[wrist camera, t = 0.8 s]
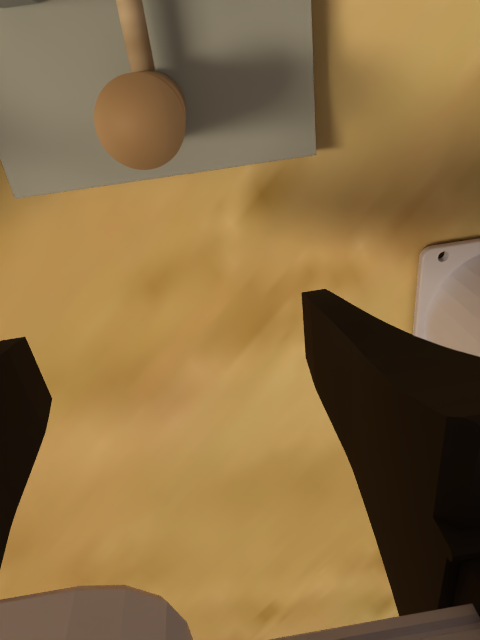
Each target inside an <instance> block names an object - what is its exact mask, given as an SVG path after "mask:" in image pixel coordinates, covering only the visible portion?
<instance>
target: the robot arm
mask: <svg viewBox="0 0 480 640" xmlns="http://www.w3.org/2000/svg"><path fill="white" fill-rule="evenodd" d="M441 252H445V253H444V256H443V257H442V258H440V259H438V256H439V254H440V253H441ZM302 305H303V321H304V336H305V352H306V359H307V363H308V366H309V369H310V373H311V376H312V379H313V382H314V385H315V388H316V390H317V393H318V395H319V397H320V399H321V401H322V404H323V406H324V408H325V410H326V412H327V414H328V416H329V419H330V421H331V423H332V425H333V427H334V429H335V431H336V433H337V436H338V438H339V440H340V442H341V444H342V446H343V448H344V450H345V453H346V455H347V457H348V460H349V462H350V464H351V467H352V469H353V472H354V475H355V478H356V481H357V484H358V487H359V490H360V493H361V496H362V498H363V501H364V504H365V507H366V510H367V513H368V517H369V520H370V523H371V526H372V529H373V532H374V535H375V538H376V541H377V544H378V547H379V551H380V554H381V557H382V560H383V564H384V567H385V570H386V573H387V576H388V580H389V583H390V586H391V589H392V593H393V596H394V600H395V603H396V606H397V610H398V613H399V617H393V618H388V619H382V620H377V621H371V622H365V623H360V624H354V625H349V626H343V627H338V628H332V629H326V630H321V631H315V632H310V633H304V634H298V635H293V636H287V637H282V638H276V639H270V640H480V238H478V239H472V240H465V241H459V242H452V243H445V244H439V245H432V246H428V247H426V248H425V249H423V250H422V252H421V253H420V256H419V266H418V278H417V289H416V301H415V313H414V324H413V335H412V334H409V333H407V332H405V331H402V330H400V329H398V328H396V327H394V326H392V325H390V324H388V323H385V322H383V321H382V320H380V319H378V318H376V317H374V316H372V315H370V314H368V313H366V312H365V311H363V310H361V309H359V308H358V307H356V306H354V305H352V304H351V303H349V302H347V301H346V300H344V299H342V298H340V297H339V296H337V295H335V294H334V293H332V292H330V291H328V290H326V289H322V290H315V291H309V292H303V293H302ZM51 402H52V397H51V395H50V393H49V390H48V388H47V386H46V384H45V381H44V379H43V377H42V374H41V372H40V370H39V367H38V365H37V363H36V361H35V358H34V356H33V354H32V351H31V349H30V347H29V345H28V342H27V340H26V338H25V337H21V338H15V339H9V340H3V341H0V568H1V564H2V560H3V556H4V552H5V548H6V544H7V540H8V536H9V532H10V528H11V525H12V522H13V519H14V516H15V513H16V510H17V507H18V504H19V502H20V499H21V496H22V494H23V491H24V489H25V486H26V483H27V481H28V478H29V475H30V473H31V470H32V467H33V465H34V462H35V460H36V457H37V454H38V451H39V449H40V446H41V443H42V440H43V437H44V435H45V431H46V427H47V423H48V418H49V413H50V407H51ZM0 640H193V638H192V635H191V633H190V630H189V627H188V624H187V622H186V621H185V620H184V619H183V618H182V617H181V616H180V615H179V614H178V613H177V612H176V611H175V610H174V608H173V607H172V606H171V605H170V604H169V603H168V602H167V601H166V600H165V599H163V598H162V597H161V596H159V595H155V594H152V593H149V592H146V591H143V590H139V589H136V588H133V587H130V586H126V585H96V586H77V587H71V588H65V589H59V590H54V591H48V592H42V593H36V594H31V595H25V596H19V597H14V598H8V599H2V600H0Z"/></svg>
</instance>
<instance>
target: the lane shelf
mask: <svg viewBox="0 0 480 640" xmlns="http://www.w3.org/2000/svg"><path fill="white" fill-rule="evenodd" d="M142 2H143V8H144V13H145V18H146V24H147V29H148V34H149V40H150V45H151V50H152V55H153V61H154V66H155V71H158V72H161V73H164V74H166V75H167V76H169V77H170V78H172V79H173V80H174V81H175V82H176V84H177V85H178V86H179V88H180V89H181V91H182V93H183V95H184V98H185V103H186V126H185V136H184V140H183V143H182V145H181V147H180V149H179V151H178V152H177V154H176V155H175V156H174V157H173V158H172V159H171V160H170V161H169V162H168V163H166V164H164V165H163V166H161V167H158V168H155V169H150V170H138V169H133V168H130V167H127V166H125V165H123V164H121V163H119V162H118V161H116V160H115V159H114V158H113V157H111V156H110V154H109V153H108V152H107V151H106V150H105V149H104V147H103V146H102V144H101V142H100V140H99V138H98V136H97V133H96V129H95V124H94V109H95V104H96V101H97V98H98V96H99V94H100V92H101V91H102V89H103V88H104V87H105V85H106V84H107V83H108V82H110V81H111V80H112V79H114V78H116V77H117V76H120V75H122V74H126V73H131V70H130V65H129V61H128V56H127V51H126V47H125V42H124V37H123V33H122V28H121V23H120V18H119V14H118V9H117V4H116V0H0V160H1V163H2V165H3V168H4V171H5V173H6V176H7V179H8V181H9V184H10V187H11V189H12V192H13V195H14V197H15V199H18V198H24V197H31V196H38V195H45V194H52V193H59V192H66V191H73V190H79V189H86V188H93V187H100V186H107V185H114V184H121V183H127V182H134V181H141V180H148V179H155V178H162V177H169V176H175V175H182V174H189V173H196V172H203V171H210V170H217V169H224V168H230V167H237V166H244V165H251V164H258V163H265V162H272V161H278V160H285V159H292V158H299V157H306V156H313V155H316V133H315V103H314V73H313V43H312V13H311V0H142Z"/></svg>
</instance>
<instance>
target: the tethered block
mask: <svg viewBox="0 0 480 640" xmlns="http://www.w3.org/2000/svg"><path fill="white" fill-rule="evenodd" d="M116 4H117V9H118V14H119V18H120V23H121V28H122V33H123V37H124V42H125V47H126V51H127V56H128V61H129V65H130V70H131V73H126V74H122V75H120V76H117V77H116V78H114V79H112V80H111V81H110V82H108V83H107V84H106V85H105V87H104V88H103V89H102V91H101V92H100V94H99V96H98V98H97V101H96V104H95V109H94V124H95V129H96V133H97V136H98V138H99V140H100V142H101V144H102V146H103V147H104V149H105V150H106V151H107V152H108V153H109V154H110V156H111V157H113V158H114V159H115V160H116V161H118V162H119V163H121V164H123V165H125V166H127V167H130V168H133V169H138V170H150V169H155V168H158V167H161V166H163V165H164V164H166V163H168V162H169V161H170V160H171V159H172V158H173V157H174V156H175V155H176V154H177V152H178V151H179V149H180V147H181V145H182V143H183V140H184V136H185V126H186V103H185V98H184V95H183V93H182V91H181V89H180V88H179V86H178V85H177V84H176V82H175V81H174V80H173V79H172V78H170V77H169V76H167V75H166V74H164V73H161V72H158V71H155V66H154V61H153V55H152V50H151V45H150V40H149V34H148V29H147V24H146V18H145V13H144V8H143V2H142V0H116Z"/></svg>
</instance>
